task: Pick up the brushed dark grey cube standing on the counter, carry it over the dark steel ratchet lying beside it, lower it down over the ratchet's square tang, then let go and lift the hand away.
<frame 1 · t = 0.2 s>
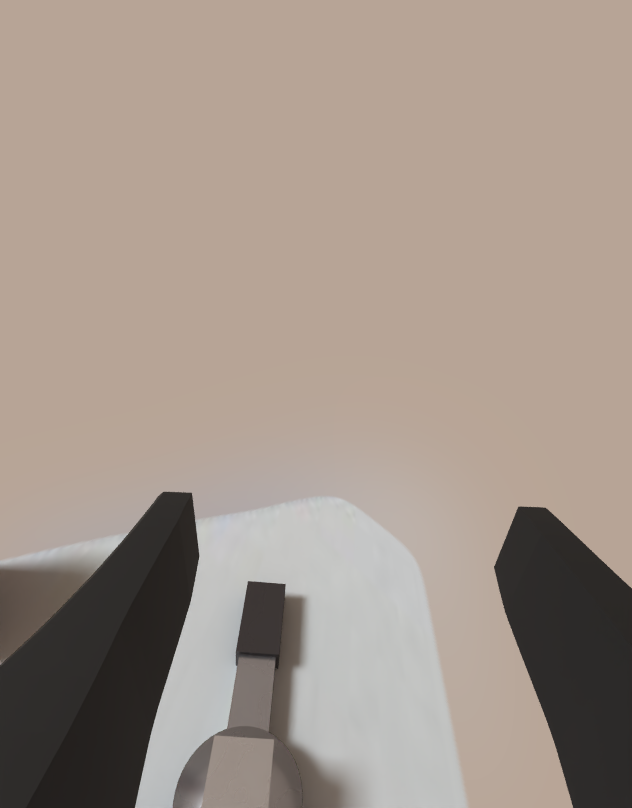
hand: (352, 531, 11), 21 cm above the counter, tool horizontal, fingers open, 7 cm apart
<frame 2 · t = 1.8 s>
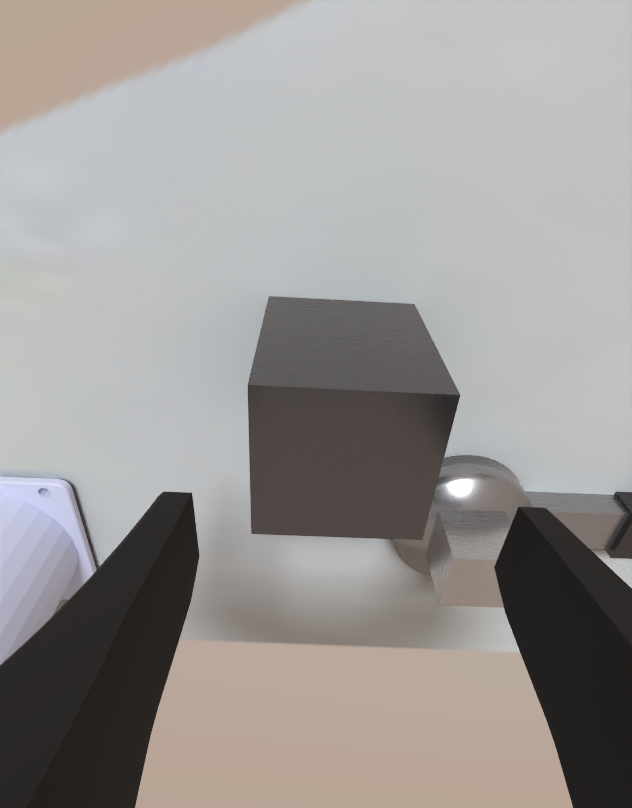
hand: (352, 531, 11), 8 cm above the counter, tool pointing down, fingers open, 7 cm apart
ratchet: (454, 506, 21), on the counter
brushed dark grey cube: (336, 365, 17), on the counter
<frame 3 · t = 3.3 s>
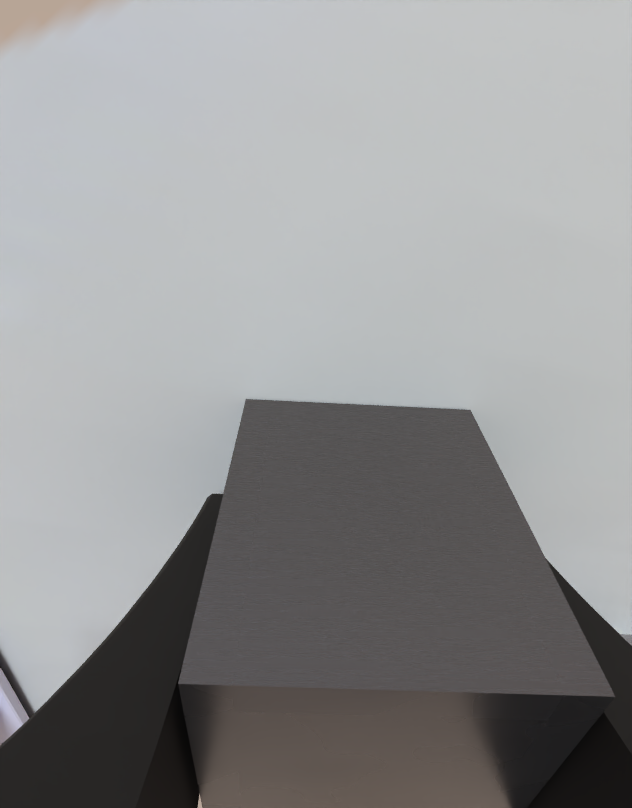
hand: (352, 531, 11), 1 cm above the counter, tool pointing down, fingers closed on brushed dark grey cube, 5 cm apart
brushed dark grey cube: (348, 488, 12), on the counter, touching gripper
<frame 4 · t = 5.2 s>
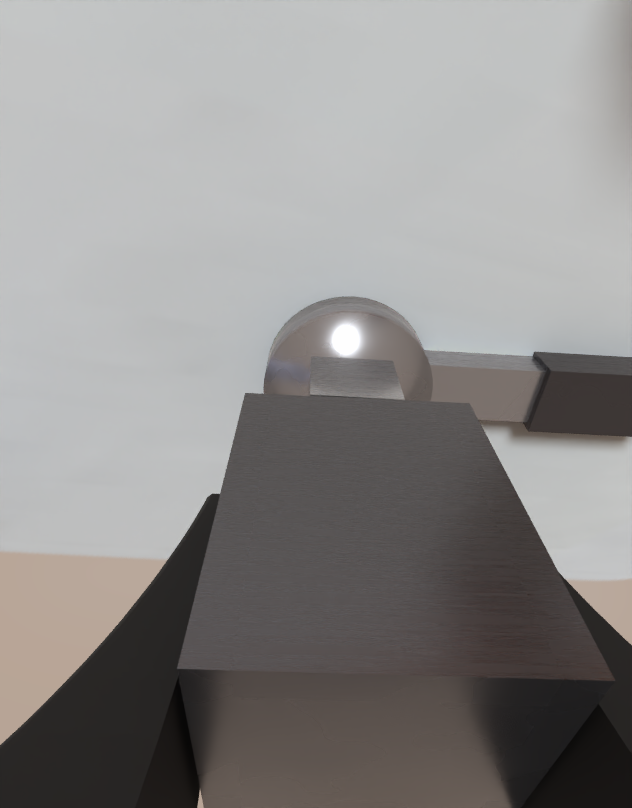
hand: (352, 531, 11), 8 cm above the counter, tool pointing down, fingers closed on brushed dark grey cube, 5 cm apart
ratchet: (345, 371, 18), on the counter
brushed dark grey cube: (348, 483, 12), point 7 cm above the counter, touching gripper
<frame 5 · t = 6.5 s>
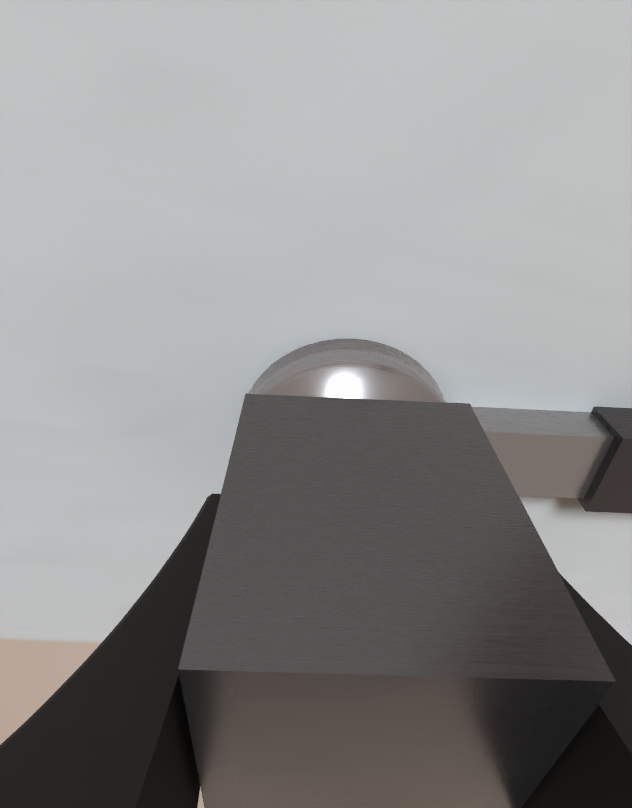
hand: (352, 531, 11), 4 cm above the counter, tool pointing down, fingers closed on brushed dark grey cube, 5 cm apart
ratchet: (343, 432, 14), on the counter
brushed dark grey cube: (348, 483, 12), point 2 cm above the counter, touching gripper
when the fingers open (4 cm above the counter, at t = 7.4 s): brushed dark grey cube stays where it is, resting on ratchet.
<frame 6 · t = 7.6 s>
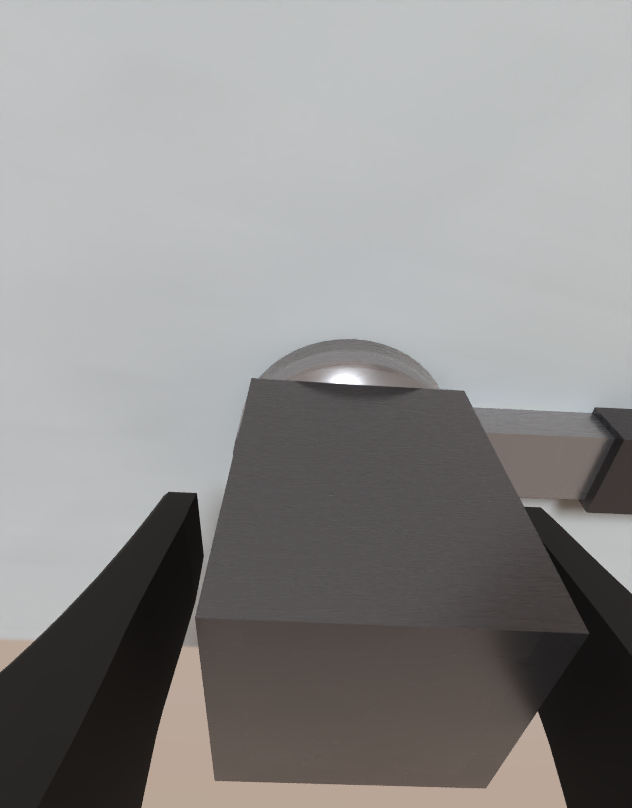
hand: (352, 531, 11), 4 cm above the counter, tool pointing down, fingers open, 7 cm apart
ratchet: (343, 433, 14), on the counter, touching brushed dark grey cube
brushed dark grey cube: (347, 466, 12), point 2 cm above the counter, touching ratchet
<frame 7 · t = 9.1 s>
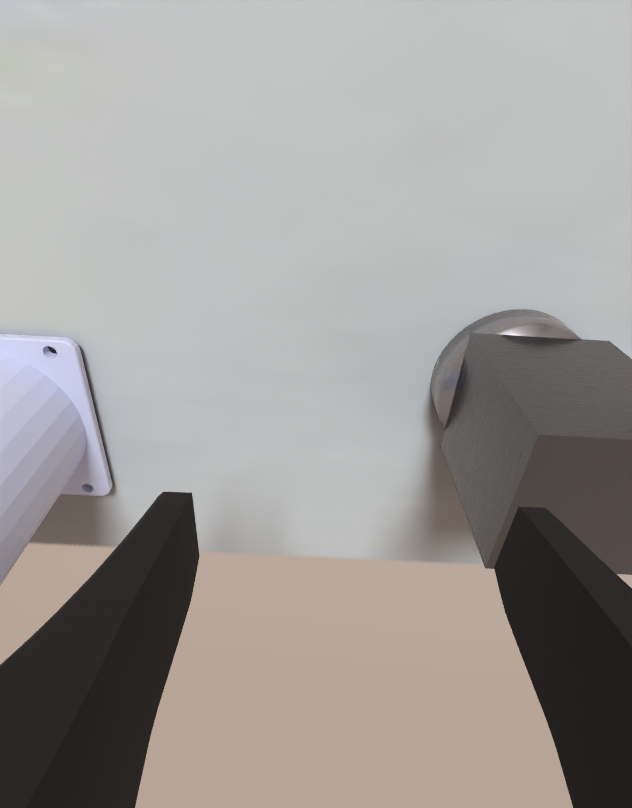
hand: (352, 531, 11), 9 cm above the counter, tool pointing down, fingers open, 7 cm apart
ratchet: (504, 378, 19), on the counter, touching brushed dark grey cube
brushed dark grey cube: (519, 397, 18), point 2 cm above the counter, touching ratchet
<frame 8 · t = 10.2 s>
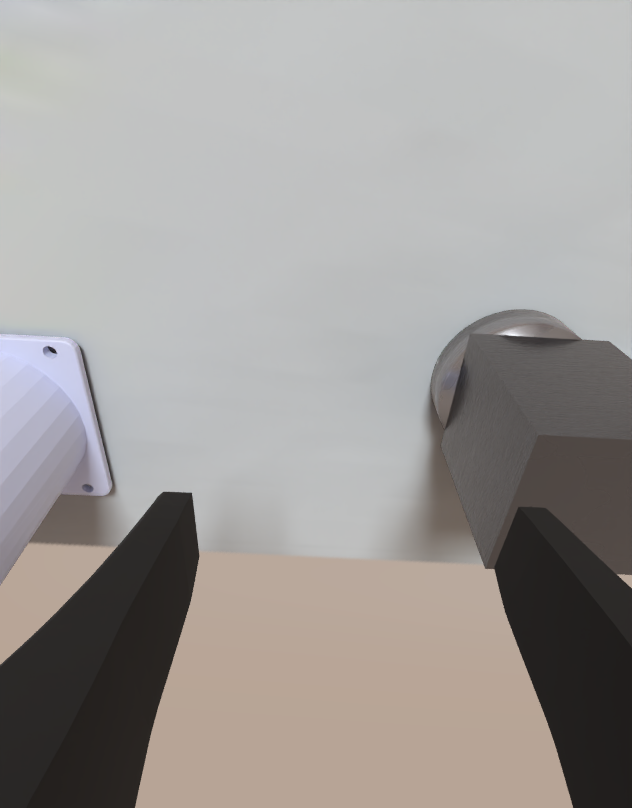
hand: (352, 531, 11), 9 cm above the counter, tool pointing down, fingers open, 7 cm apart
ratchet: (504, 378, 19), on the counter, touching brushed dark grey cube
brushed dark grey cube: (518, 397, 18), point 2 cm above the counter, touching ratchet
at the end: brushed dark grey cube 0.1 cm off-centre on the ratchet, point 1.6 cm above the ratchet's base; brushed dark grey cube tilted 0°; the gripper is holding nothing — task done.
